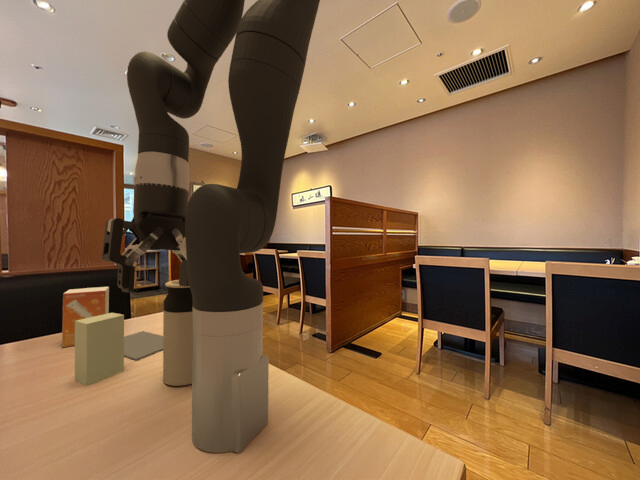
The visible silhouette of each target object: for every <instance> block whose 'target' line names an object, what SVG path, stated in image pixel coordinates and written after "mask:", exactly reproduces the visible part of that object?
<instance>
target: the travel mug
mask: <svg viewBox="0 0 640 480" xmlns="http://www.w3.org/2000/svg"><path fill="white" fill-rule="evenodd" d="M164 285H165V287H166V288H167V294H166V296H165V298H164V299H163V317H162V318H163V320H162V323H163V324H162V325H163V329H162V331H163V333H162V336H163V350H162V354H163V355H162V361H163V362H162V363H163V364H162V368H163V369H162V370H163V371H162V382H163V383H164V384H165V385H166V384H167V385H168V386H174V387H179V386H183V387H184V386H189V385H192V313H193V300H192V293H191V289H190V287H189V286H180V285H179V279H175V280H170V281H167V282H166V283H165V284H164Z"/></svg>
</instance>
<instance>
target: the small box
mask: <svg viewBox="0 0 640 480" xmlns="http://www.w3.org/2000/svg"><path fill="white" fill-rule="evenodd" d="M62 295H63V296H62V329H61V333H62V334H61V335H62V336H61V337H62V339H61V340H62V341H61V348H66V347H73V346H75V321H77V320H81V319H86V318H90V317H95V316H99V315H104V314H108V313H110V311H109V310H110V309H109V307H110V306H109V305H110V303H109V302H110V301H109V300H110V286H98V287H86V288H85V287H83V288H73V289H72V288H71V289H68V290H67V291H65V292H63V294H62Z"/></svg>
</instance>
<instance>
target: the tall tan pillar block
mask: <svg viewBox="0 0 640 480" xmlns="http://www.w3.org/2000/svg"><path fill="white" fill-rule="evenodd" d="M124 337H125V315H124V314H121V313H116V312H109V313H108V314H104V315H99V316H95V317H90V318H86V319H81V320H77V321H75V345H74V382H75V383H79V384H81V385H82V386H83V385H84V386H86V387H88V386H90V385H92V384H94V383H97V382H99V381H102V380H104V379H107V378H110V377H113V376H114V375H116V374H119V373H121V372H124V370H125V357H124Z"/></svg>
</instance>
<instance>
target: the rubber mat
mask: <svg viewBox="0 0 640 480" xmlns="http://www.w3.org/2000/svg"><path fill="white" fill-rule="evenodd" d="M159 352H163V335H161V334H156V333H152V332H148V331H145V330H141V331H138V332H134V333H131V334H128V335H124V358H127V359H130V360H133V361H134V362H135V361H136V362H137V361H139V360H142V359H144V358H147V357H149V356H153V355H154V354H157V353H159Z"/></svg>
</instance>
